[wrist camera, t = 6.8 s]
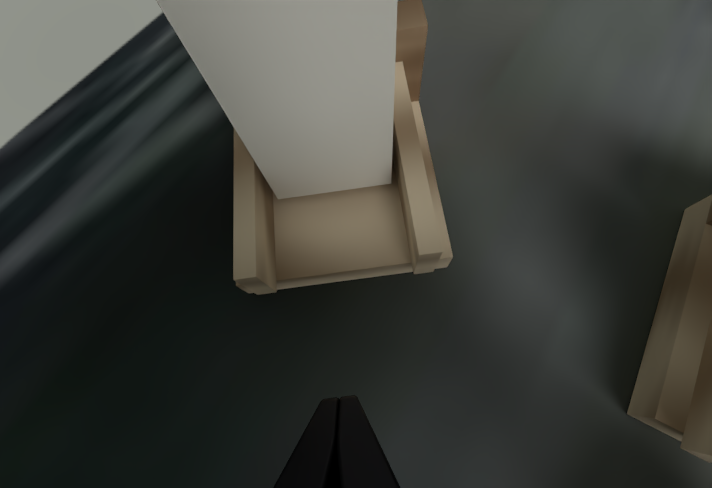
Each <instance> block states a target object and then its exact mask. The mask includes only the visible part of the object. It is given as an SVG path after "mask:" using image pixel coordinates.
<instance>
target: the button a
mask: <svg viewBox="0 0 712 488" xmlns="http://www.w3.org/2000/svg"><path fill="white" fill-rule="evenodd" d="M156 1H157V3H158V4H159V6H160V8H161V9H162V11H163V12H164V14H165V16H166V17H167V19H168V21H169V22H170V24H171V26H172V27H173V29H174V30H175V32H176V34H177V35H178V37H179V39H180V40H181V42H182V43H183V45H184V47H185V48H186V50H187V52H188V53H189V55H190V57H191V58H192V60H193V61H194V63H195V65H196V66H197V68H198V70H199V71H200V73H201V74H202V76H203V78H204V79H205V81H206V83H207V84H208V86H209V88H210V89H211V91H212V92H213V94H214V96H215V97H216V99H217V101H218V102H219V104H220V105H221V107H222V109H223V110H224V112H225V114H226V115H227V117H228V119H229V120H230V122H231V123H232V125H233V127H234V128H235V130H236V132H237V133H238V135H239V137H240V138H241V140H242V141H243V143H244V145H245V146H246V148H247V150H248V151H249V153H250V154H251V156H252V158H253V159H254V161H255V163H256V164H257V166H258V168H259V169H260V171H261V172H262V174H263V176H264V177H265V179H266V181H267V182H268V184H269V185H270V187H271V189H272V190H273V192H274V194H275V195H276V197H277V199H285V198H292V197H299V196H306V195H313V194H321V193H328V192H335V191H342V190H349V189H356V188H363V187H371V186H378V185H385V184H391V177H392V148H393V118H394V88H395V59H396V29H397V0H156Z"/></svg>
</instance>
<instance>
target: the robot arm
mask: <svg viewBox="0 0 712 488" xmlns="http://www.w3.org/2000/svg"><path fill="white" fill-rule="evenodd" d="M274 488H400V486H399V484H398V482H397V479H396V477H395V475H394V473H393V471H392V469H391V467H390V465H389V463H388V461H387V458H386V456H385V454H384V452H383V450H382V448H381V446H380V444H379V442H378V440H377V437H376V435H375V433H374V431H373V429H372V427H371V425H370V423H369V421H368V419H367V416H366V414H365V412H364V410H363V408H362V406H361V404H360V402H359V400H358V398H357V396H355V395H353V396H345V397H341V398H340V400H339V398H328V399H323V400H322V401H321V402H320V404H319V406H318V407H317V409H316V411H315V413H314V415H313V416H312V418H311V420H310V422H309V424H308V426H307V427H306V429H305V431H304V433H303V435H302V437H301V438H300V440H299V442H298V444H297V446H296V447H295V449H294V451H293V453H292V455H291V457H290V458H289V460H288V462H287V464H286V466H285V467H284V469H283V471H282V473H281V475H280V477H279V478H278V480H277V482H276V484H275V486H274Z"/></svg>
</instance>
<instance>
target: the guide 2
mask: <svg viewBox="0 0 712 488" xmlns="http://www.w3.org/2000/svg"><path fill="white" fill-rule="evenodd" d="M627 414H628V415H630V416H632V417H634V418H636V419H638V420H640V421H642V422H643V423H645V424H647V425H649V426H651V427H653V428H655V429H657V430H659V431H661V432H663V433H665V434H667V435H669V436H671V437H673V438H675V439H677V440H679V441H681V447H680V448H681V449H683V450H685V451H687V452H689V453H691V454H693V455H695V456H697V457H699V458H701V459H703V460H705V461H706V462H710V463H712V194H711V195H710V196H708V197H706V198H704V199H702V200H701V201H699V202H697V203H695V204H693V205H691V206H690V207H688V208H686V209H685V210H684V214H683V217H682V221H681V224H680V228H679V231H678V235H677V238H676V242H675V245H674V249H673V253H672V256H671V260H670V263H669V267H668V270H667V274H666V277H665V281H664V284H663V288H662V291H661V295H660V298H659V302H658V306H657V309H656V313H655V316H654V320H653V323H652V327H651V330H650V334H649V337H648V341H647V344H646V348H645V351H644V355H643V359H642V362H641V366H640V369H639V373H638V376H637V380H636V383H635V387H634V390H633V394H632V397H631V401H630V404H629V408H628V412H627Z"/></svg>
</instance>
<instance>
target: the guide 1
mask: <svg viewBox="0 0 712 488" xmlns="http://www.w3.org/2000/svg"><path fill="white" fill-rule="evenodd" d="M427 29H428V24H427V20H426V16H425V12H424V8H423V4H422V0H405V1H399V2H397V29H396V59H395V88H394V118H393V148H392V177H391V184H385V185H378V186H371V187H363V188H356V189H349V190H342V191H335V192H328V193H321V194H313V195H306V196H299V197H292V198H285V199H277V197H276V195H275V194H274V192H273V190H272V189H271V187H270V185H269V184H268V182H267V181H266V179H265V177H264V176H263V174H262V172H261V171H260V169H259V168H258V166H257V164H256V163H255V161H254V159H253V158H252V156H251V154H250V153H249V151H248V150H247V148H246V146H245V145H244V143H243V141H242V140H241V138H240V137H239V135H238V133H237V132H236V130H235V128H234V224H233V280H234V281H236V286H237V287H239V288H240V289H242V290H244V291H246V292H247V293H255V294H257V295H261V294H268V293H276V292H277V290H279V289H287V288H294V287H302V286H309V285H317V284H324V283H332V282H340V281H347V280H355V279H362V278H370V277H377V276H385V275H393V274H400V273H408V272H413V274H420V273H428V272H434V269H438V268H446V267H448V265H449V263H450V262H451V260H452V258H453V254H452V250H451V245H450V240H449V236H448V231H447V227H446V222H445V218H444V213H443V209H442V204H441V200H440V195H439V191H438V186H437V182H436V177H435V173H434V168H433V164H432V159H431V155H430V150H429V146H428V141H427V137H426V132H425V127H424V123H423V118H422V114H421V109H420V105H419V94H420V86H421V78H422V69H423V61H424V53H425V45H426V37H427Z"/></svg>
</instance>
